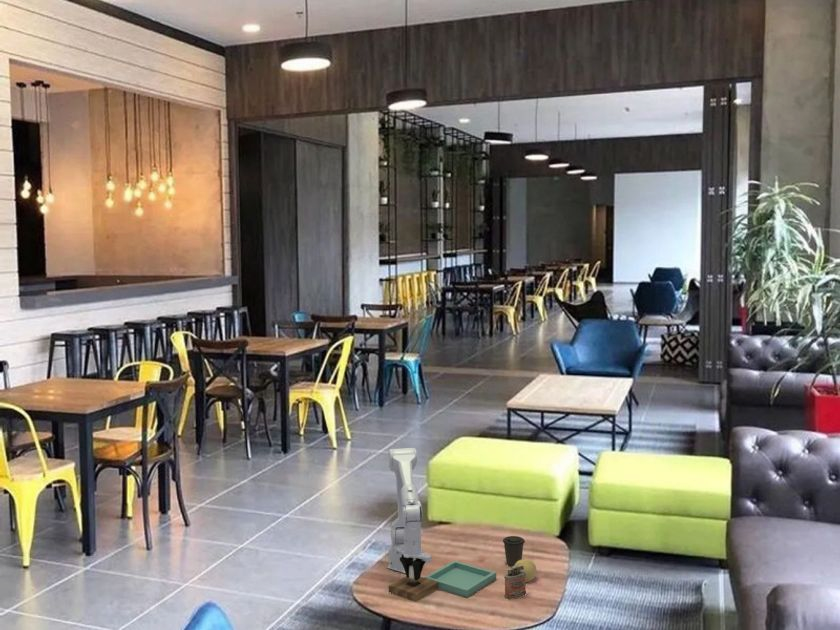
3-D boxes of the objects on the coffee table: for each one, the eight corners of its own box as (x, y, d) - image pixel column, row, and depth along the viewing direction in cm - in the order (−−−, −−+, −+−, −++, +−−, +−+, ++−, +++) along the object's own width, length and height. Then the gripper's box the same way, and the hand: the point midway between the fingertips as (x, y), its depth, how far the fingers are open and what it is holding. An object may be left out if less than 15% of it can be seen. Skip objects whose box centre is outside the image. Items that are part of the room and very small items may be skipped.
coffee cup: (500, 567, 298) (499, 540, 297) (506, 558, 305) (506, 532, 304) (521, 570, 295) (521, 543, 294) (527, 561, 302) (527, 535, 301)
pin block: (388, 592, 278) (388, 585, 278) (410, 580, 288) (410, 573, 287) (416, 601, 271) (416, 594, 271) (438, 588, 280) (438, 581, 280)
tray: (424, 584, 284) (424, 577, 284) (454, 567, 298) (454, 560, 298) (467, 597, 273) (467, 590, 273) (496, 579, 287) (496, 572, 287)
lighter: (508, 600, 271) (507, 570, 270) (502, 596, 274) (502, 567, 273) (528, 594, 274) (528, 566, 273) (522, 591, 277) (522, 562, 276)
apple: (537, 584, 282) (525, 566, 280) (517, 589, 286) (506, 571, 285) (542, 569, 288) (531, 552, 287) (523, 574, 292) (512, 557, 291)
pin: (407, 588, 279) (406, 565, 278) (412, 585, 281) (412, 562, 280) (414, 590, 277) (413, 567, 276) (419, 587, 279) (419, 564, 279)
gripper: (388, 538, 279) (389, 576, 280) (422, 547, 270) (422, 587, 271) (401, 532, 284) (402, 569, 286) (435, 541, 275) (435, 580, 277)
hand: (413, 577), depth 279 cm, fingers closed on pin, 3 cm apart
